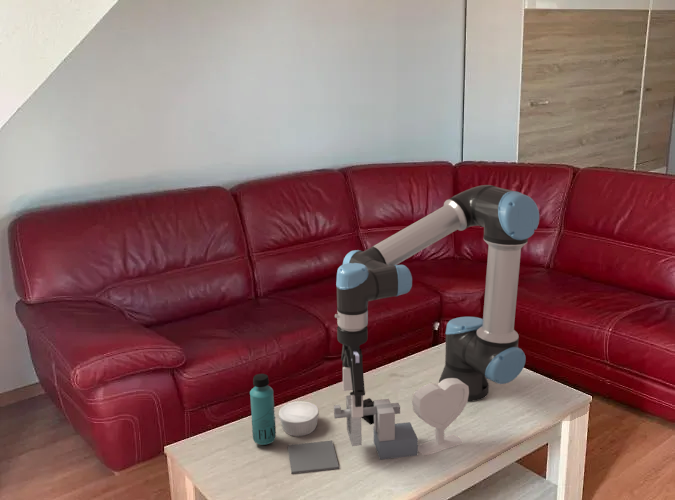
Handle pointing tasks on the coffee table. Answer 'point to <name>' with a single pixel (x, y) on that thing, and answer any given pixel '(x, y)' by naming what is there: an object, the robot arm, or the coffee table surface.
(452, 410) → the heart sculpture
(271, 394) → the beverage bottle
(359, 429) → the ring
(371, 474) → the coffee table surface
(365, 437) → the coffee table surface
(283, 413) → the ramekin
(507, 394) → the coffee table surface
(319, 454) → the mat
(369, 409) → the vise
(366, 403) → the black phone stand
